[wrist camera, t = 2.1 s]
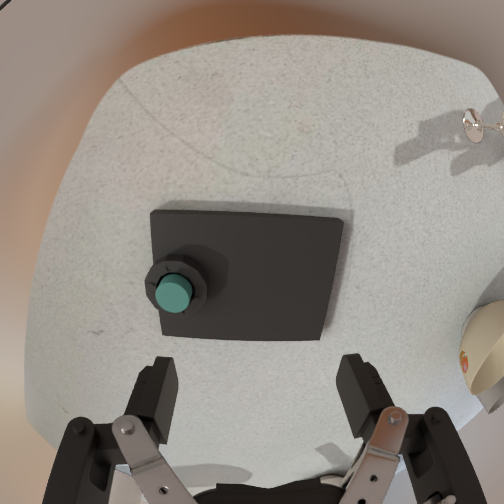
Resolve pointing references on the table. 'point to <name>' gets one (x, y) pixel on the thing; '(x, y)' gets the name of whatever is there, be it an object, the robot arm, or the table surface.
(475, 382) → the bowl
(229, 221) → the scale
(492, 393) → the cup
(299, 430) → the table surface
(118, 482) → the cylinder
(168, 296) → the power button
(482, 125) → the wineglass
